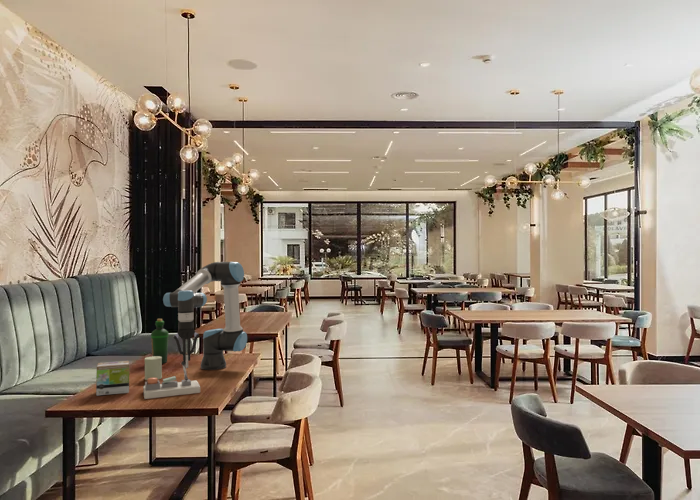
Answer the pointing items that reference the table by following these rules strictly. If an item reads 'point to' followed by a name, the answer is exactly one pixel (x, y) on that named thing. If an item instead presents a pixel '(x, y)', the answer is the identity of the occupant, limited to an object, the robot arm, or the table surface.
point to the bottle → (160, 341)
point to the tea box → (112, 378)
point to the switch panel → (170, 388)
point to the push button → (152, 380)
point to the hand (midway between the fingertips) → (186, 367)
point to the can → (153, 367)
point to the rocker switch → (169, 379)
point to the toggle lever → (184, 370)
